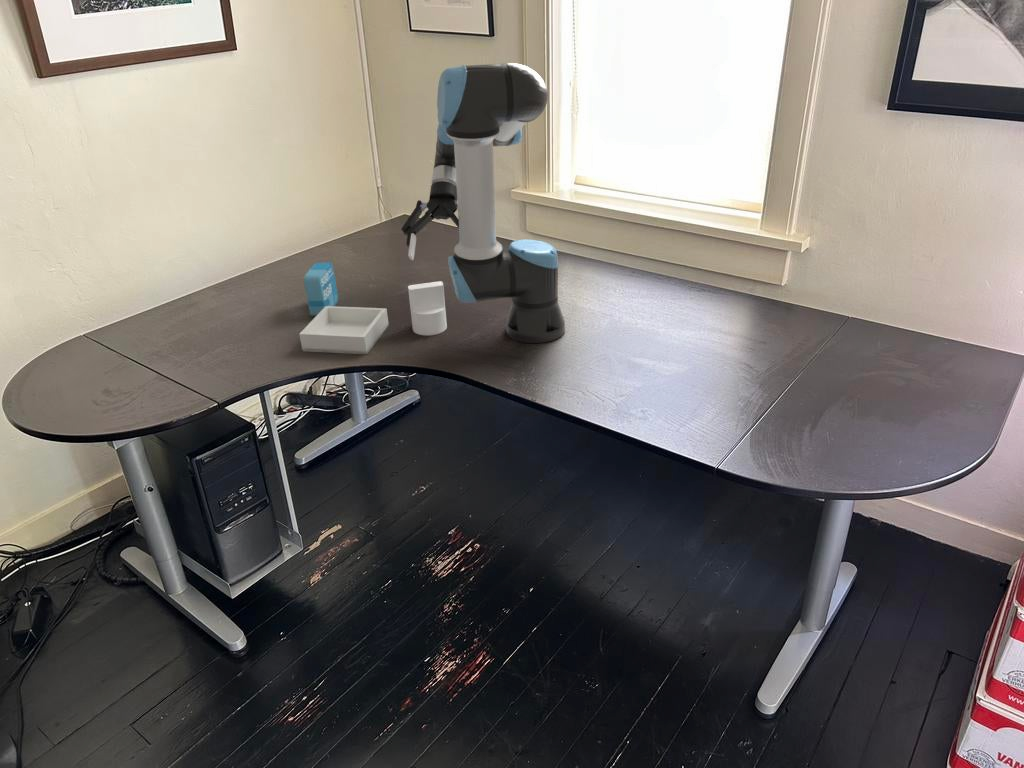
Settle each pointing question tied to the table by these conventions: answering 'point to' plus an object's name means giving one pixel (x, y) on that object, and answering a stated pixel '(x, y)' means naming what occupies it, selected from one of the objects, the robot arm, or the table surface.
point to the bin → (344, 330)
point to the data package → (320, 287)
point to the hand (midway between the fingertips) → (435, 259)
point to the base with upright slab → (427, 308)
